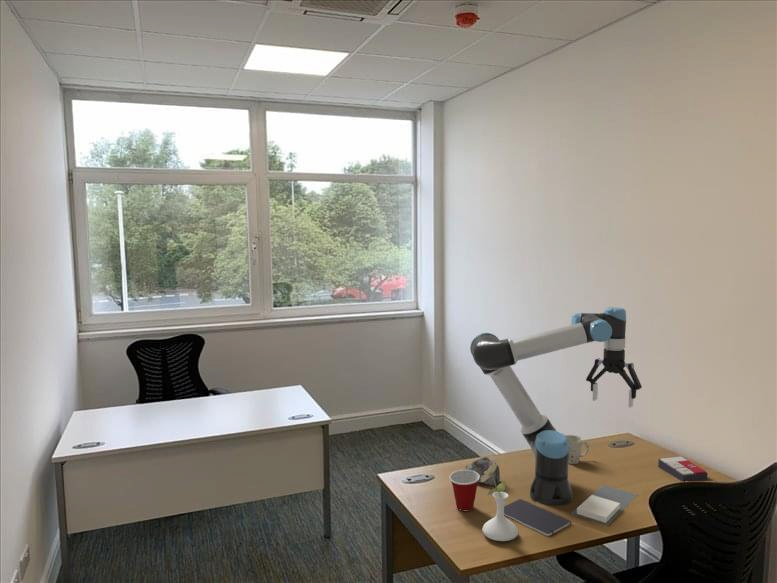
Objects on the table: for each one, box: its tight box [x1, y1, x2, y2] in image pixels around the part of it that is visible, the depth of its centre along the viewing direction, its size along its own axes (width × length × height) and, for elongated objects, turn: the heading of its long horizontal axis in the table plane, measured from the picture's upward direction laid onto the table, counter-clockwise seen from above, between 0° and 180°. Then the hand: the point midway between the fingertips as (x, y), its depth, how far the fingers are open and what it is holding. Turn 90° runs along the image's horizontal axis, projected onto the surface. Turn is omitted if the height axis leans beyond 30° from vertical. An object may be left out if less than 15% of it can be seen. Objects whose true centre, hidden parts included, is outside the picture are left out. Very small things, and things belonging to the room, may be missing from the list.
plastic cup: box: [448, 469, 480, 511], centre depth 207 cm, size 11×11×12 cm
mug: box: [564, 434, 590, 465], centre depth 248 cm, size 8×13×10 cm, turn 107°
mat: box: [570, 484, 638, 527], centre depth 209 cm, size 13×29×1 cm, turn 139°
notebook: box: [504, 498, 572, 537], centre depth 200 cm, size 13×2×21 cm
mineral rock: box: [464, 456, 501, 486], centre depth 229 cm, size 13×11×10 cm
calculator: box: [657, 456, 708, 482], centre depth 235 cm, size 11×4×15 cm
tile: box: [576, 494, 620, 523], centre depth 203 cm, size 10×2×13 cm
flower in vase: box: [479, 461, 519, 542], centre depth 187 cm, size 13×11×25 cm
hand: (612, 403), depth 223 cm, fingers open, 13 cm apart
